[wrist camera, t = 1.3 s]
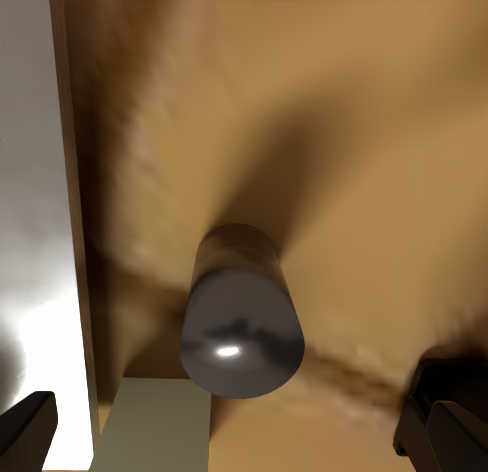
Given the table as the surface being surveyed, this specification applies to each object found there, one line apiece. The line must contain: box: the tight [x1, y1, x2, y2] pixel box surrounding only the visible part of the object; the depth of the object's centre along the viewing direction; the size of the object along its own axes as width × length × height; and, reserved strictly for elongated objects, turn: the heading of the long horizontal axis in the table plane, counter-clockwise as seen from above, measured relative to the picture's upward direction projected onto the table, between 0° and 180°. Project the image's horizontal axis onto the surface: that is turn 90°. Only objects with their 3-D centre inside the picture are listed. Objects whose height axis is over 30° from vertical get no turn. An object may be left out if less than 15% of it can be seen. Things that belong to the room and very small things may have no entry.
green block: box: [88, 377, 211, 472], centre depth 16 cm, size 4×4×6 cm
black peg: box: [180, 224, 305, 399], centre depth 13 cm, size 4×4×6 cm
